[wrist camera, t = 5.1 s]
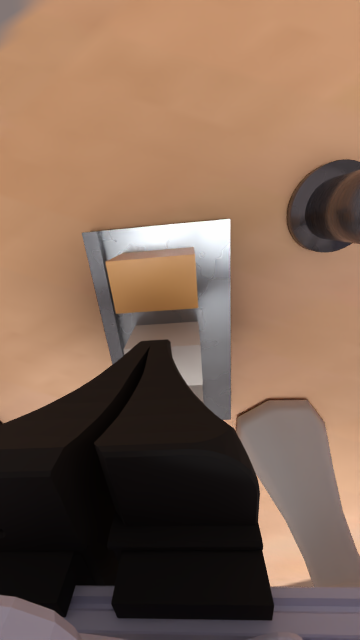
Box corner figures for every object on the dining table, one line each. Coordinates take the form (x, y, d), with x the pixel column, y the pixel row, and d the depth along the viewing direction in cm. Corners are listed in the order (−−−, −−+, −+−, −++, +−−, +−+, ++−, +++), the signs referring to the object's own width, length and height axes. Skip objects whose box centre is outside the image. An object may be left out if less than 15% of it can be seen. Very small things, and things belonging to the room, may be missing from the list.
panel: (227, 218, 13) (232, 219, 12) (228, 409, 19) (232, 425, 17) (89, 231, 14) (77, 233, 12) (130, 413, 19) (125, 429, 18)
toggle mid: (198, 321, 15) (200, 344, 12) (200, 355, 16) (202, 384, 13) (135, 325, 15) (123, 349, 12) (141, 359, 16) (131, 388, 13)
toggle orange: (193, 246, 13) (194, 254, 10) (196, 290, 14) (198, 308, 11) (122, 253, 13) (105, 261, 10) (130, 295, 14) (116, 313, 11)
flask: (222, 409, 19) (255, 590, 10) (315, 385, 18) (455, 566, 8) (245, 467, 21) (288, 654, 12) (328, 449, 20) (445, 642, 11)
